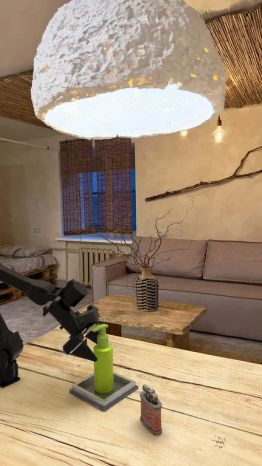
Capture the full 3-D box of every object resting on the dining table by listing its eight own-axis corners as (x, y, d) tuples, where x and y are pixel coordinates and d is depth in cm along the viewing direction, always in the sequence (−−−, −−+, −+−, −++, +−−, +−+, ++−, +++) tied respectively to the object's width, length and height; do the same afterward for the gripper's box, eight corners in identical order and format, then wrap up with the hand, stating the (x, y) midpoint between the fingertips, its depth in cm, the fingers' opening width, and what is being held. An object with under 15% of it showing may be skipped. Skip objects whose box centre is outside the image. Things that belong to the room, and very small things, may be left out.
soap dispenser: (87, 389, 105) (86, 325, 103) (105, 380, 110) (104, 320, 108) (99, 396, 101) (97, 331, 99) (117, 387, 106) (116, 325, 104)
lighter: (165, 432, 87) (165, 395, 86) (153, 437, 85) (153, 399, 84) (148, 415, 94) (147, 380, 93) (137, 419, 92) (136, 383, 91)
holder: (104, 411, 95) (104, 404, 95) (69, 392, 105) (69, 385, 105) (138, 388, 107) (138, 381, 107) (103, 373, 116) (103, 366, 116)
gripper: (72, 309, 95) (111, 350, 94) (92, 291, 113) (125, 325, 112) (46, 334, 97) (84, 375, 96) (70, 312, 116) (102, 346, 115)
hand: (101, 353), depth 105 cm, fingers open, 9 cm apart
